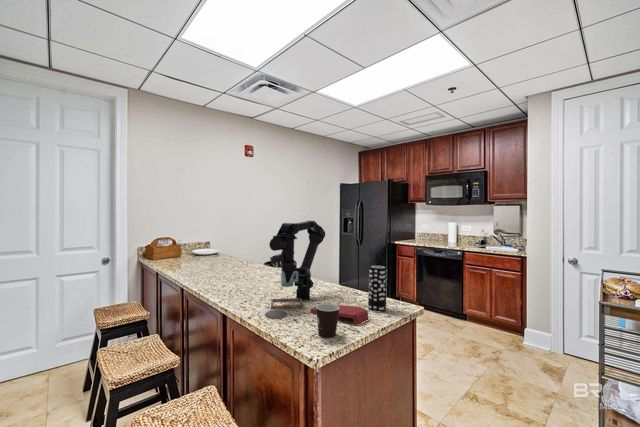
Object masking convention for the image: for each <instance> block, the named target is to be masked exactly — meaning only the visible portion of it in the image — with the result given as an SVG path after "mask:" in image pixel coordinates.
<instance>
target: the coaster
mask: <svg viewBox="0 0 640 427" xmlns="http://www.w3.org/2000/svg"><path fill="white" fill-rule="evenodd" d="M288 316H289V313H288V312H287V311H285V310H280V309H273V310H269V311H267V312H265V313H264V317H265V318H267V319H271V320H279V319H280V320H281V319H285V318H287V317H288Z"/></svg>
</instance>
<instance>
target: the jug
mask: <svg viewBox="0 0 640 427" xmlns="http://www.w3.org/2000/svg"><path fill="white" fill-rule="evenodd" d="M280 270H281V272H280V286H281V287H284V288H291V287H293V286H294V282H297V281H298V272H297V271H295V270H294V272H293V274H292V276H291V279H290V281H289V283H286V277H285V272H284V271H283V270H282V268H281V269H280ZM294 274H296V279H294Z"/></svg>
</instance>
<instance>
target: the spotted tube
mask: <svg viewBox="0 0 640 427" xmlns="http://www.w3.org/2000/svg"><path fill="white" fill-rule="evenodd" d="M387 284H388V267H387V266H385V265H376V264H375V265H373V264H372V265H369V266H368V297H367V299H368V303H367V310H369V311H370V310H372V311H371V312H373V311H384V312H386V311H387V292H388V290H387V286H388V285H387ZM385 310H386V311H385Z"/></svg>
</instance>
